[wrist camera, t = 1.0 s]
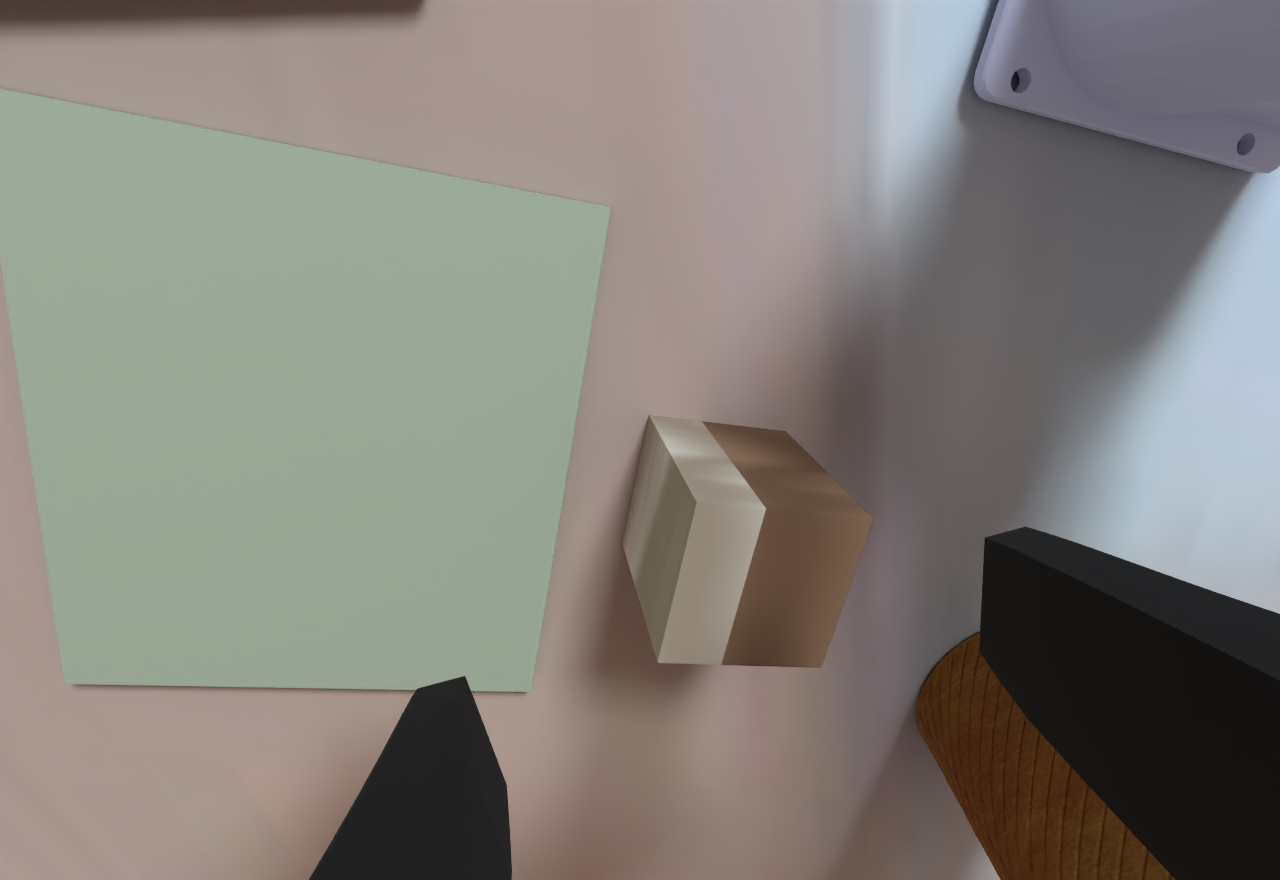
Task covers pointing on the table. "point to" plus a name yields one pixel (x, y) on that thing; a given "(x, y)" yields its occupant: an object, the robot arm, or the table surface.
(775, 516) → the walnut block
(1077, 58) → the robot arm
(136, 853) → the table surface
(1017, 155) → the table surface
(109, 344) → the rubber mat
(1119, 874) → the disposable coffee cup
